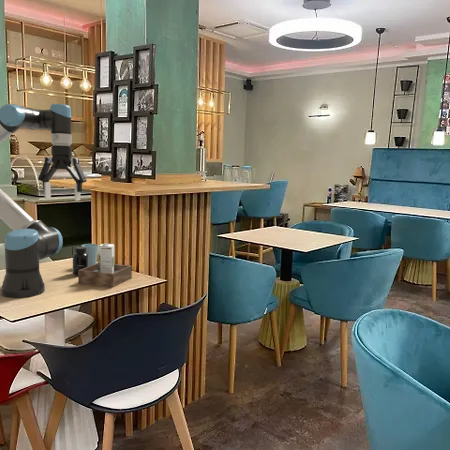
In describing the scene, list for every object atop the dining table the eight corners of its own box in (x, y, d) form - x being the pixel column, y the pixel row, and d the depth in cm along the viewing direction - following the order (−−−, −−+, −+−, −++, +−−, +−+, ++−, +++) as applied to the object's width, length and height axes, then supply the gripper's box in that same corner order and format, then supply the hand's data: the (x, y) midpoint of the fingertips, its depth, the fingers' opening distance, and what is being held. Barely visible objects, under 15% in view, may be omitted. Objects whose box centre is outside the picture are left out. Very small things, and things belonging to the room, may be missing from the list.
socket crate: (78, 283, 186) (78, 270, 185) (99, 274, 201) (99, 262, 200) (113, 287, 181) (113, 274, 181) (131, 278, 197) (131, 265, 196)
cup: (91, 269, 210) (91, 247, 209) (78, 267, 213) (78, 245, 212) (101, 265, 218) (101, 244, 216) (88, 264, 220) (88, 243, 219)
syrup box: (100, 276, 193) (100, 243, 191) (114, 276, 194) (114, 243, 192) (97, 280, 188) (97, 246, 186) (112, 280, 188) (112, 246, 186)
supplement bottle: (78, 276, 196) (78, 249, 195) (69, 274, 200) (69, 247, 199) (92, 273, 202) (91, 247, 200) (82, 271, 206) (82, 245, 204)
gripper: (27, 144, 175) (29, 198, 178) (84, 145, 168) (85, 201, 171) (40, 145, 182) (41, 197, 185) (95, 146, 176) (95, 200, 178)
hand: (62, 199), depth 178 cm, fingers open, 13 cm apart
